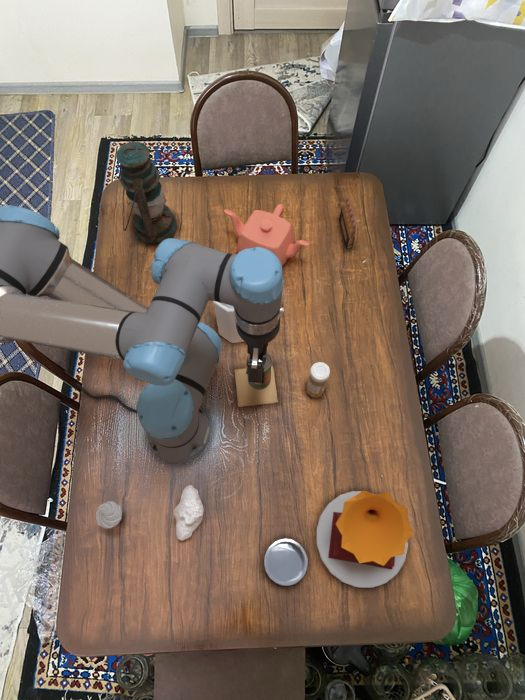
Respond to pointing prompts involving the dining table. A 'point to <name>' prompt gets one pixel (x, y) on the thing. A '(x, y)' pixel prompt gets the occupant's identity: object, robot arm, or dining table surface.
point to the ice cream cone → (108, 514)
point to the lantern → (144, 195)
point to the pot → (267, 233)
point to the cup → (226, 322)
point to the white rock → (188, 513)
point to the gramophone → (363, 538)
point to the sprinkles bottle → (317, 379)
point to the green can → (267, 373)
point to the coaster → (254, 390)
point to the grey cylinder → (285, 562)
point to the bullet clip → (348, 223)
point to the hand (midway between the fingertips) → (258, 366)
